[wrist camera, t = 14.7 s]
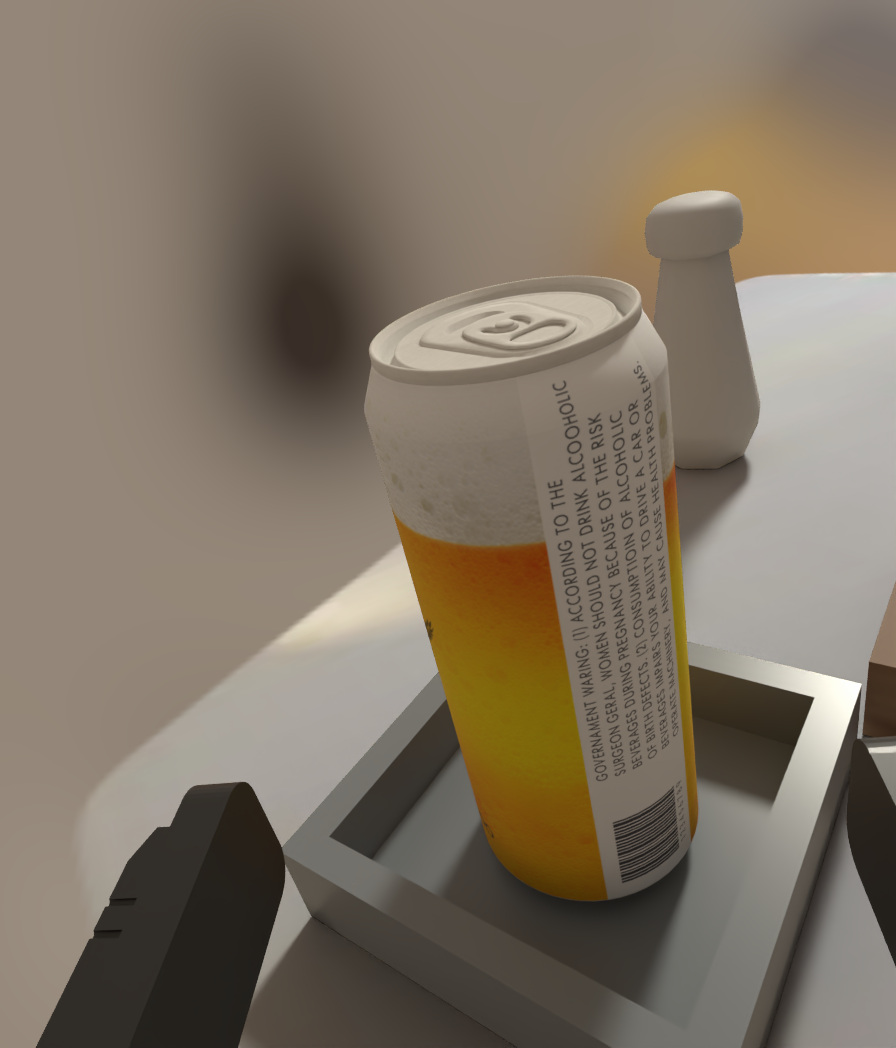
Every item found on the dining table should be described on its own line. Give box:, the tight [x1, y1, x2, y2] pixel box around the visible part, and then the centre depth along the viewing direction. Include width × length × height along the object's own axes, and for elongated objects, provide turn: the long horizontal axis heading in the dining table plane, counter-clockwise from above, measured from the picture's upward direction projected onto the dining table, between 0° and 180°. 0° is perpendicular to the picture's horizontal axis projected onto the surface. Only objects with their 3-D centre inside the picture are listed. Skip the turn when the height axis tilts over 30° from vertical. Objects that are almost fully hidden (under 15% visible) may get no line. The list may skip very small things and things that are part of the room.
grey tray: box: [282, 642, 862, 1048], centre depth 22 cm, size 12×12×3 cm
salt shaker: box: [645, 191, 760, 469], centre depth 38 cm, size 6×6×13 cm
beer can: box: [364, 276, 699, 901], centre depth 19 cm, size 6×6×15 cm
